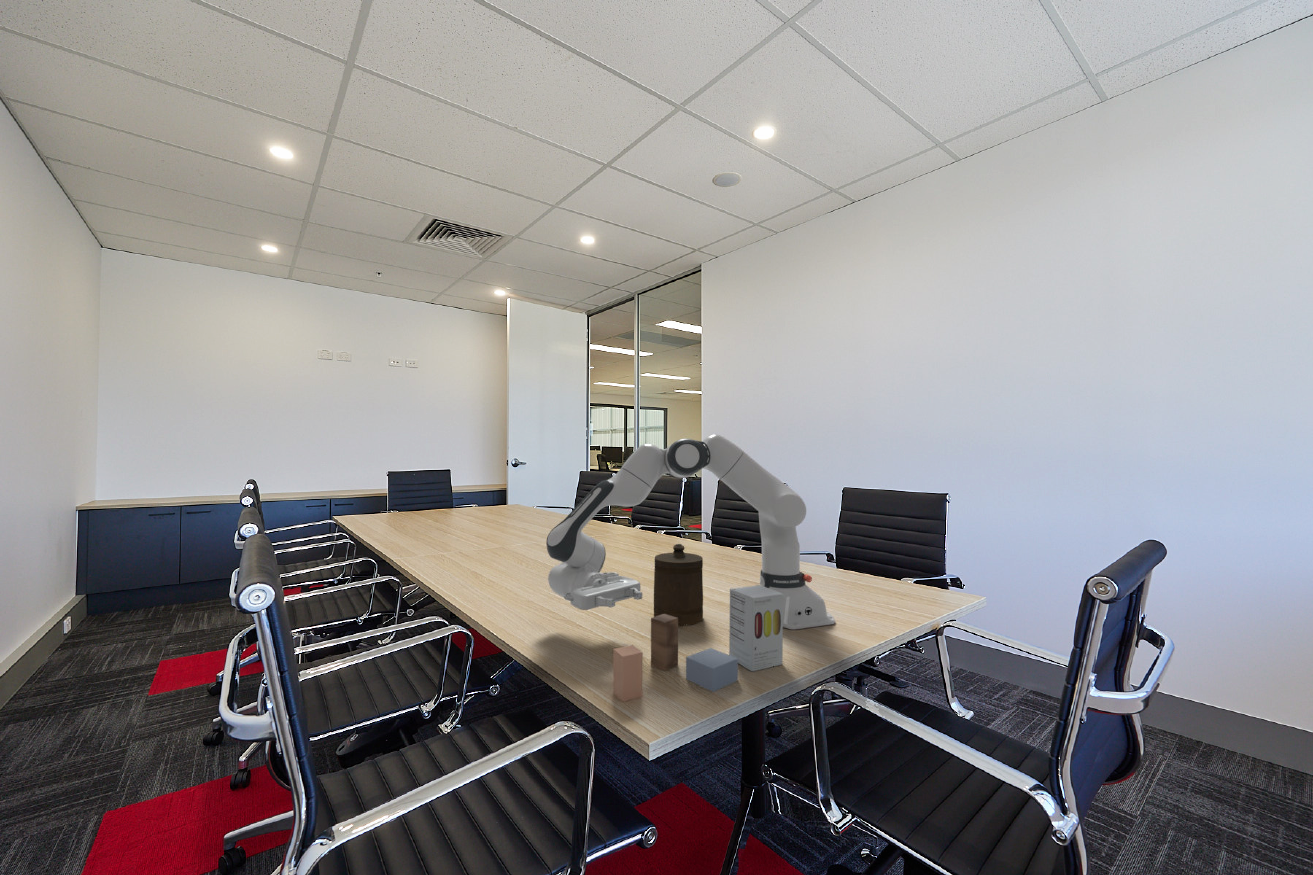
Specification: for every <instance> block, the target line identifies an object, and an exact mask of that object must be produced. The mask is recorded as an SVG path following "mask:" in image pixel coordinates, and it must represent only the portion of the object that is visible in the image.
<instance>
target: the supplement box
mask: <svg viewBox="0 0 1313 875" xmlns="http://www.w3.org/2000/svg"><path fill="white" fill-rule="evenodd" d="M783 628H784V627H783V594H782V593H780V592H778V591H775V590H772V589H769V588H766V587H764V586H761V585H760V584H756V585H750V586H743V587H735V588H730V589H729V637H728V638H729V639H728V640H729V646H728V648H729V649H728V650H729V651H728V653H729V654H728V655H730V656H732V657H735V658H737V659H738V664H739V665H741V666H743V668H745V669H747V670H749V671H750V672H757V671H761V670H764V669H768V668H774V667H778V666H782V665H783V662H784V661H783V655H784V653H783V651H784V650H783V643H784V641H783V639H784V636H783V635H784V633H783V632H784V629H783ZM773 666H774V667H773Z"/></svg>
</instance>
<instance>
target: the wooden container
mask: <svg viewBox="0 0 1313 875" xmlns="http://www.w3.org/2000/svg"><path fill="white" fill-rule="evenodd" d="M672 548H673V551H672V552H664V553H660V554H656V555H655V556H654V574H653V576H654V578H653V617H656V616H659V615H662V614H666V615H670V616H673V617H677V618H678V627H679V626H680V627H681V626H690V625H694V624H697V623H700V622H701V621H703V620H704V619H703V618H704V589H703V588H704V587H703V582H704V581H703V567H704V565H703V564H704V563H703V562H704V560H703V556H701V555H699V554H696V553H690V552H689V553H688V552H684V550H685V548H686V547H685V546H684V545H682V543H676V544H674V545H673V546H672Z"/></svg>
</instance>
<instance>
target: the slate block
mask: <svg viewBox="0 0 1313 875" xmlns="http://www.w3.org/2000/svg"><path fill="white" fill-rule="evenodd" d="M738 664H739V663H738V659H737V658H735V657H732V656H730V655H729V654H727V653H725V652H722V651H719V650H717V649H714V648H712V647H709V648H707V649H704V650H701V651H698V652H696V653H694V654H691V655H689V656H686V657H685V676H686V677H685V679H686V680H687V681H690V682H692V683H693V684H696V685H697V686H699V687H702V688H704V689H706V690H708V691H711V692H712V693H713V692H716V691H718V690H721V689H723V688H725V687H727V686H729V685H731V684H734V683H736V682H738V681H739V679H738V678H739V677H738V676H739V671H738V670H739V666H738ZM737 680H738V681H737ZM726 685H727V686H726ZM724 686H725V687H724Z"/></svg>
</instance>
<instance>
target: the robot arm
mask: <svg viewBox="0 0 1313 875" xmlns="http://www.w3.org/2000/svg"><path fill="white" fill-rule="evenodd" d="M702 469H705V470H708V471H709V472H711V473H712V474H714V476H716V478H718V479H719V480H720V481H721V482H722V483H724V484H725V485H726V486H727V487H729V489H731V491H733V492H734V493H735V494H737V495H738V496H739V497H740V498H742V499H743V500H744V501H745V502H746V503H748V504H749V505H750V506H752V507H753V508H754V509H755V510H756V511H758V522H759V524H758V525H759V533H760V539H761V540H760V541H761V569H760V576H759V585H761V586H764V587H766V588H769V589H772V590H775V591H778V592H780V593H782V594H783V628H786V629H789V630H799V629H808V628H814V627H822V626H830V625H834V624H835V623H836V622H835V618H834V616H833V615H832V614H830V613H829V612H827V607H826V606H827V605H826V603H825V601H824V598H822V596H820V594H818V593H817V592H816V591H815V590H813V589H812V588H810V586H808V585H807V584H806V582H807V583H811V582H812V581H813V576H811V575H810V574H808V573H807V574H806V573H803V572H802V571H801V568H800V567H801V565H800V561H801V560H800V558H801V557H800V556H801V554H800V553H801V552H800V551H801V550H800V549H801V548H800V543H799V540H798V532H797V528H796V527H797V526H799V525H800V524H802V523H803V521H804V520H805V518H806V515H807V506H806V503H805V501H804V500H803V498H802V497H801V496H800V495H799V494H798V493H797V492H795V491H794V490H793V489H792V488H791V487H789V486H788V485H787V484H785V483H784V482H783V481H781V480H780V479H779V478H778V477H776V476H775V475H774V474H772V473H771V472H770V471H768V470H767V469H766V468H764V467H763V466H762V465H760V464H759V463H758V462H757V461H756V460H755V459H753V458H752V457H751V456H750V455H748V453H746V452H745V451H744V450H743V449H741V448H740V447H739V446H737V444H735V443H734V442H732V441H730V440H729V439H727V438H725V437H723V436H722V435H720V434H716V433H714V434H710V435H709V436H707V437H705V438H704V439H703V440H702V441H701V440H697V439H693V438H681V439H677V440H676V441H674V442H673V443H671V444H670V445H669V446H668V447H666V448H665V449H662V448H659V447H658V446H656V445H654V444H651V443H642V444H641V445H640V446H638V447H637V448H636V449H635V451H633V453H632V454H630V456H629V457H628V458H627V459H626V461H624V463H623V465H622V466H621V468H620V469H619V470H617V473H615V474H614V475H613V476H611V477H610V478H609V479H604V480H601V481H600V482H599V483H597V484H596V485H595V486H594V487H593V488H592V489H591V490H590V491H589V492H588V493H587V495H585V496H584V497H583V499H581V501H580V502H579V503H578V504H577V505H576V506H575V507H574V508H573V510H572V511H571V512H569V514H568V515H567V516H566V517H565V518H564V519H563V520H562V521H560V522H559V523H557V525H555V526H554V527H553V528H552V529H551V530H550V531H549V533H548V535H547V538H546V551H547V554H548V555H549V557H550V558H551V559H554V560H557V561H559V562H560V563H559V564H557V565H555V566H553V567H552V568H551V569H550V571H549V573H548V578H547V580H548V581H547V582H548V585H549V587H550V589H551V590H552V592H553V593H555V594H556V595H558V596H560V597H562V598H563V599H564V600H565V601H569V602H570V605H571V606H572V607H575V608H577V609H578V610H582V611H588V610H591V609H595V608H599V607H605V608H613V607H616V603H617V602H621V601H625V600H628V599H631V598H633V599H634V600H636V601H639V600H642V599H643V592H642V591H641V583H640V581H638V580H636V579H634V578H630V577H628V576H622V575H620V574H619V572H615V571H614V572H613V571H612V572H601V571H602V569H603V566H604V564H605V561H606V547H605V546H604V544H603V543H602V542H600V541H599V540H597V539H596V538H594V537H592V536H590V535H588V534H587V533H585V532H583V529H584V528H585V527H586V526H587V525H588V524H589V522H590V521H591V520H592V519H593V518H594V517H595V516H596V515H597V513H599V512H600V510H602V509H603V508H606V507H608V506H609V507H610V506H617V507H618V506H619V507H623V508H625V507H626V508H627V507H635V506H639V505H640V504H641V503H643V502H644V501H645V500H646V499H647V497H648V496H649V494H650V492H652V490H653V488H654V487H655V485H656V483H657V482H658V480H660V479H661V478H662V477H663V476H664V475H666V476H670V477H672V478H676V479H686V478H689V477H692V476H693V475H695V474H696V473H698V472H700V471H702Z"/></svg>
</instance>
